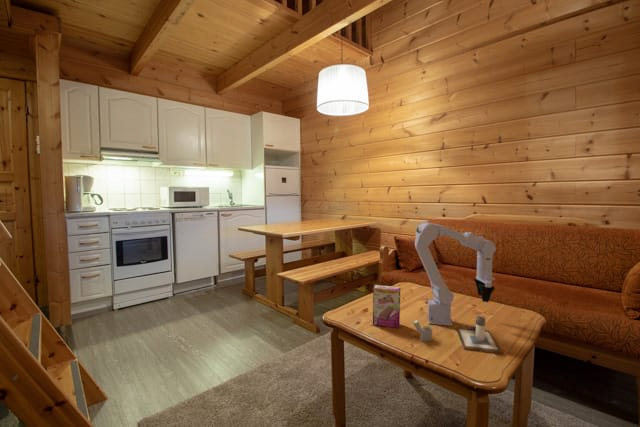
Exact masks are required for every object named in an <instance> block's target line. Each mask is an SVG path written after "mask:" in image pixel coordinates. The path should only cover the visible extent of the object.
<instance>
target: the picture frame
mask: <svg viewBox="0 0 640 427" xmlns="http://www.w3.org/2000/svg"><path fill="white" fill-rule="evenodd" d="M455 328H456V332H457V334H458V337H459V339H460V343H461V345H462V348H463V350H466V351H475V352H481V353H491V354H498V353H501V354H502V350H501V349H500V347H499V345H498V344H497V342H496V340H495V339H494V337H493V335H492V334H491V332H490V330H486V329H485V341H484V342H478V341H476V340H475V338H476V326H475V325H474V326H473V325H466V327H458V326H456V327H455Z"/></svg>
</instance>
